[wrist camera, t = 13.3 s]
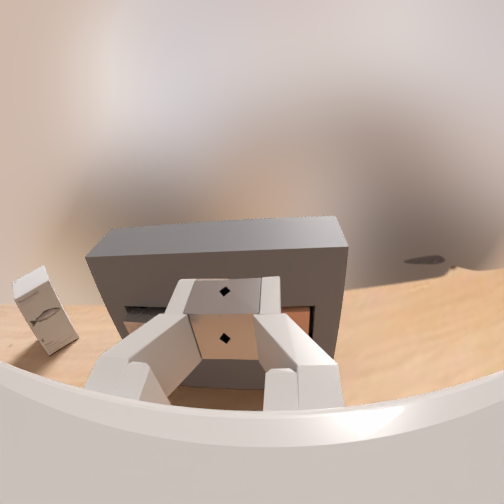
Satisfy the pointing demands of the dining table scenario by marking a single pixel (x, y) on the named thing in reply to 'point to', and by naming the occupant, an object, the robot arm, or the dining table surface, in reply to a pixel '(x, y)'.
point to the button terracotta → (298, 316)
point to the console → (227, 275)
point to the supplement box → (43, 310)
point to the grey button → (141, 316)
